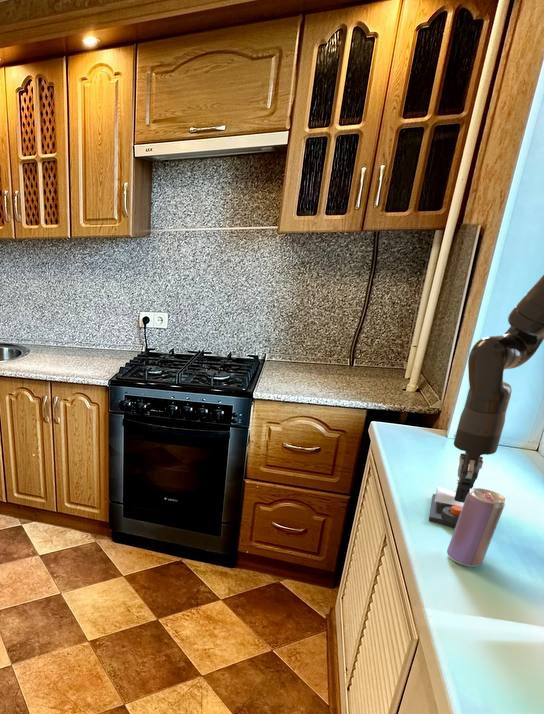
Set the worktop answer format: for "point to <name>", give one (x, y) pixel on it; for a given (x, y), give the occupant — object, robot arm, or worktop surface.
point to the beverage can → (475, 527)
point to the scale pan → (446, 497)
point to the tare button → (456, 510)
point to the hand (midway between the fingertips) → (460, 500)
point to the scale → (442, 514)
